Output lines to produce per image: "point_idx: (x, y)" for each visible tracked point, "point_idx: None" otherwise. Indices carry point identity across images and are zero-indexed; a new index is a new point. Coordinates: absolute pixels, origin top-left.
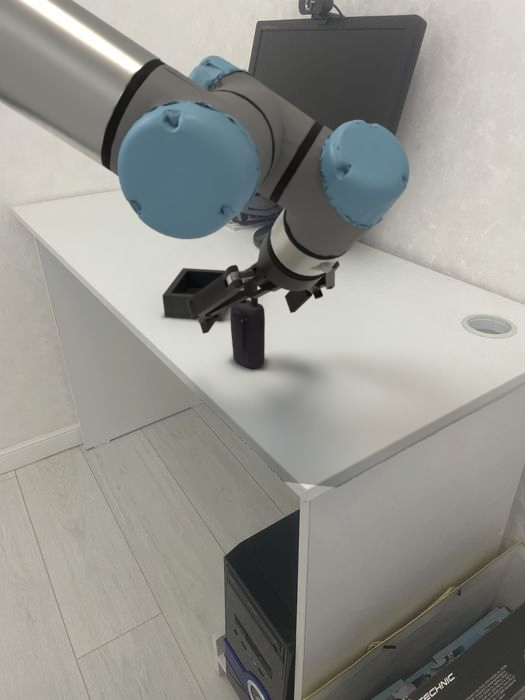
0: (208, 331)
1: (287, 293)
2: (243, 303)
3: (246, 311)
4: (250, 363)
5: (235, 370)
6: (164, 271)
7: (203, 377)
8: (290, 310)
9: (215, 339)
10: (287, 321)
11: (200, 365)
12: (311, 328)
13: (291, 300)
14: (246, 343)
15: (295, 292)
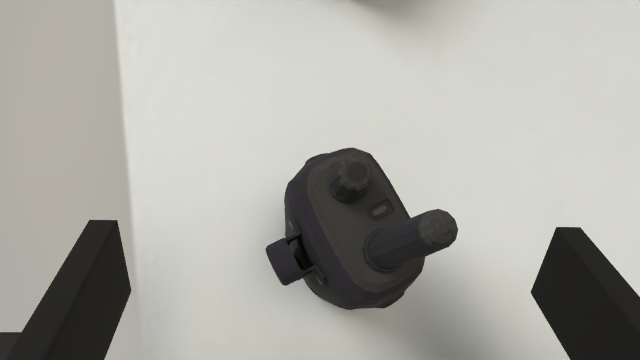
0: (125, 302)
1: (576, 254)
2: (345, 205)
3: (330, 273)
4: (315, 293)
5: (271, 274)
6: None
7: (167, 265)
8: (536, 292)
9: (288, 84)
10: (532, 90)
11: (186, 199)
12: (583, 161)
13: (569, 298)
14: (312, 282)
15: (615, 346)
